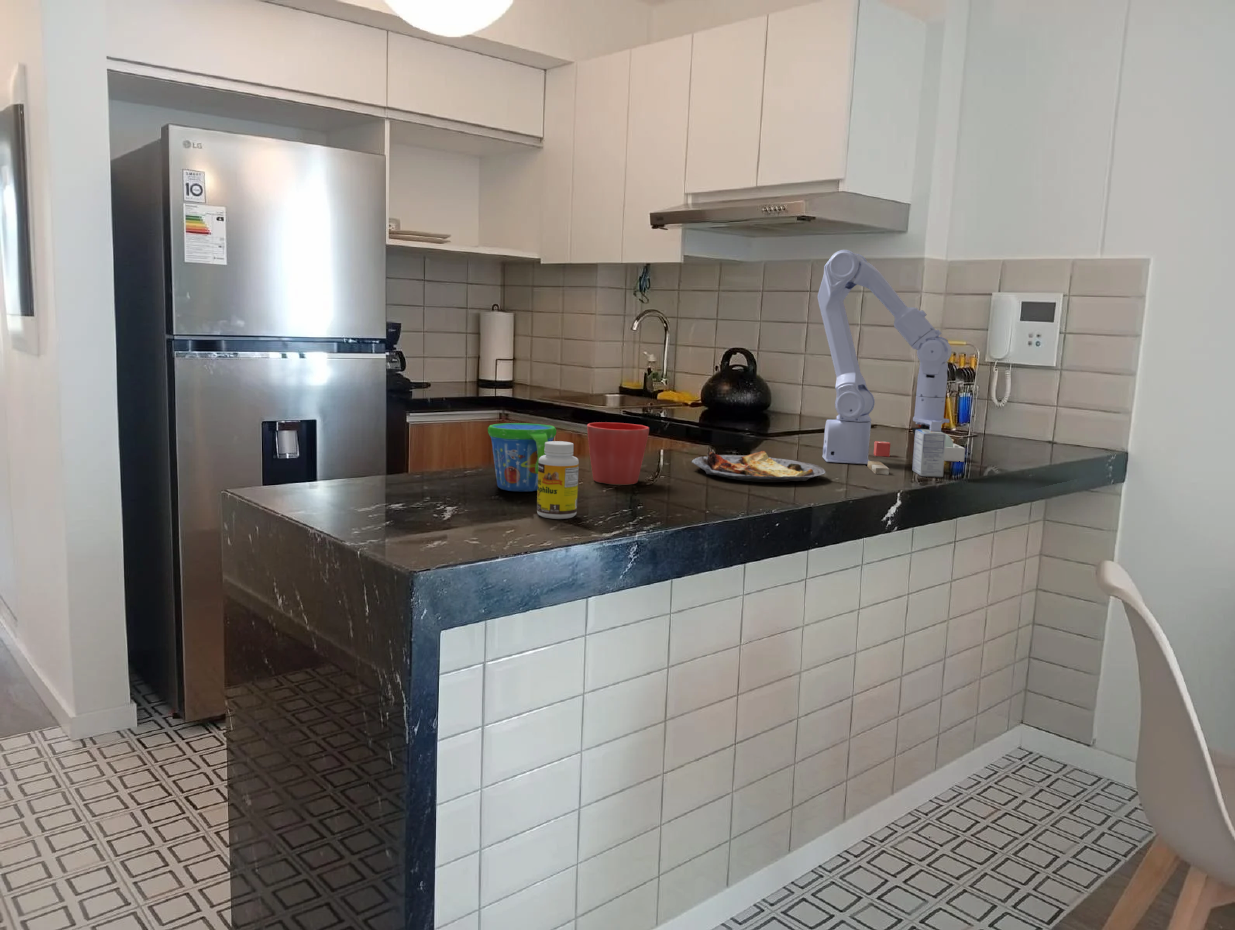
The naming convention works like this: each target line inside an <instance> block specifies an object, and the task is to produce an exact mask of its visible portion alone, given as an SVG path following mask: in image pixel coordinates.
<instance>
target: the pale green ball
mask: <svg viewBox="0 0 1235 930" xmlns="http://www.w3.org/2000/svg"><path fill="white" fill-rule="evenodd" d="M945 434H946V441H945V447H953V444H954V441H953V439H952V437H950V435H948V434H947V433H945Z"/></svg>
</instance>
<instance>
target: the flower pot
mask: <svg viewBox="0 0 1235 930" xmlns="http://www.w3.org/2000/svg"><path fill="white" fill-rule="evenodd" d="M586 429H587V430H586V432H587V440H588V441H587V443H588V449H589V450H588V451H589V458H590V467H591V472H592V473H591V474H592V480H593V481H594V482H596V483H599V484H606V485H610V486H611V485H614V486H615V485H616V486H627V485H635V484H637V483H638V482H639V478H640V473H641V470H642V464H643V461H644V455H645V452H646V447H647V443H648V439H649V438H648V437H649V433H650V427H649V426H646V425H643V424H634V423H626V422H625V423H624V422H607V421H605V422H602V421H601V422H600V421H599V422H597V421H596V422H589V423H587V425H586Z"/></svg>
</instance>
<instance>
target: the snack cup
mask: <svg viewBox="0 0 1235 930" xmlns="http://www.w3.org/2000/svg"><path fill="white" fill-rule="evenodd" d="M487 433H488V435H489V437H490V439H491V445H492V454H493V462H494V471H495V478H496V485H497V488H499V489H500V490H503V491H509V492H525V493H526V492H537V489H538V462H539V458H540V457H541V456H543V455H546V454H545V453H544V452H545V451H544V449H545V442H549V441H554V440H555V439H554V438H555V437H556V435H557V428H556V427H555V426H554V425H551V424H550V425H548V424H543V423H542V424H541V423H527V422H526V423H525V422H522V423H521V422H518V423H517V422H511V423H509V422H507V423H503V422H502V423H495V424H490V425H489V426H488V427H487Z"/></svg>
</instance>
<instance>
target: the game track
mask: <svg viewBox="0 0 1235 930" xmlns="http://www.w3.org/2000/svg"><path fill="white" fill-rule="evenodd" d="M867 468H868V469H869V470H870V471H872V472H873V473H874V474H875V475H876V474H877V475H887V476H888V475H890V474H889V473H890V468H889V467H888V466H887V465H885V464H884V463H883V462H881V461H874V460H873V461H871V460H870V461H868V464H867Z"/></svg>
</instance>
